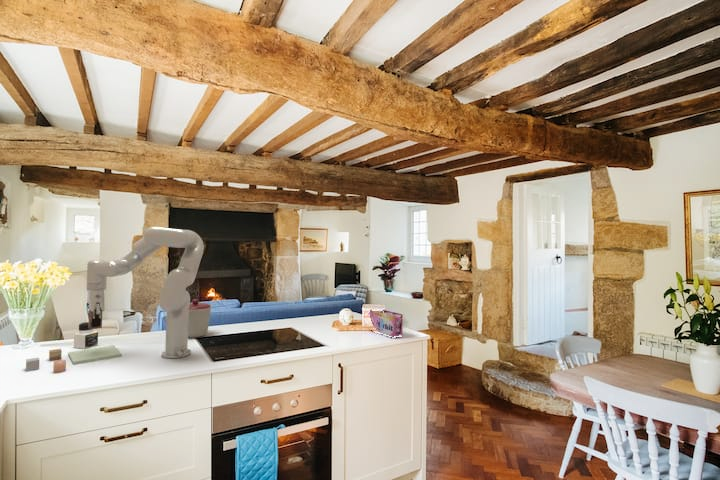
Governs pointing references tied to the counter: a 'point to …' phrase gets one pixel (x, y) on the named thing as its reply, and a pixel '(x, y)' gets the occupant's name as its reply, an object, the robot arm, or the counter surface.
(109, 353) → the sage board
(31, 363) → the stone cube
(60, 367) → the terracotta cylinder
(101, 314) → the walnut block
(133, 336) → the counter surface
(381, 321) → the gum box
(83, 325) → the medicine bottle
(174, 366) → the counter surface
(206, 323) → the canister
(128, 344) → the counter surface
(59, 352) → the oak cube
